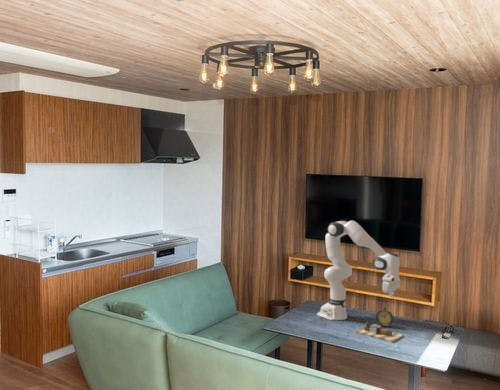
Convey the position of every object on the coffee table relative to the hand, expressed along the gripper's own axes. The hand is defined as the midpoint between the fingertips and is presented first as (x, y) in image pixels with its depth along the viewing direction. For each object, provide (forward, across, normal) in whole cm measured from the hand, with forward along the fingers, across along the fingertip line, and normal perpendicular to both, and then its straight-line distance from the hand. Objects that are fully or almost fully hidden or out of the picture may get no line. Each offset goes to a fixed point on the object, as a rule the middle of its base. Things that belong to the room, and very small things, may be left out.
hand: (391, 296), depth 325 cm
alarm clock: (+24, -6, -6) cm, 26 cm away
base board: (+24, +12, -1) cm, 27 cm away
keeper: (+23, +13, -4) cm, 27 cm away
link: (+22, +13, -3) cm, 26 cm away
